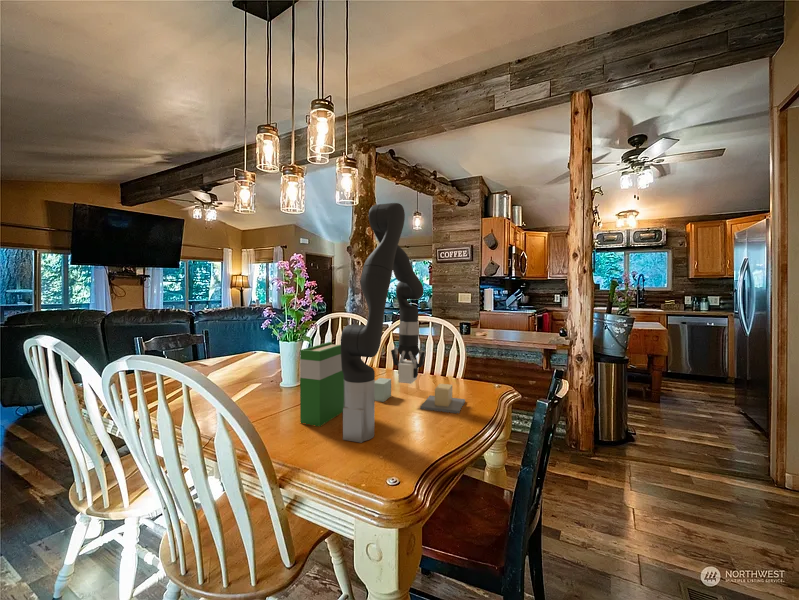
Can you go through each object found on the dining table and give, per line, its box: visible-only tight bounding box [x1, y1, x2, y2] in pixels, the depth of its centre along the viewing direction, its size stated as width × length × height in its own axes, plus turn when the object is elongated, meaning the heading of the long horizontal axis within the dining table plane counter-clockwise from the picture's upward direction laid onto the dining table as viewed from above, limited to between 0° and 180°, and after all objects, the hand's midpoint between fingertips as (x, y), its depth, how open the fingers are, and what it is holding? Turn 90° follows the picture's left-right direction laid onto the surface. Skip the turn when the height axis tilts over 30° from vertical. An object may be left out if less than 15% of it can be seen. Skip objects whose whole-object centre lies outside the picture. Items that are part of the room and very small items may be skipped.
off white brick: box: [397, 359, 418, 385], centre depth 142 cm, size 8×5×7 cm, turn 161°
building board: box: [420, 383, 466, 415], centre depth 138 cm, size 14×14×7 cm
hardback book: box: [299, 341, 344, 427], centre depth 126 cm, size 18×7×24 cm, turn 159°
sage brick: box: [375, 377, 392, 403], centre depth 147 cm, size 8×5×7 cm, turn 161°
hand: (408, 376), depth 142 cm, fingers closed on off white brick, 5 cm apart
